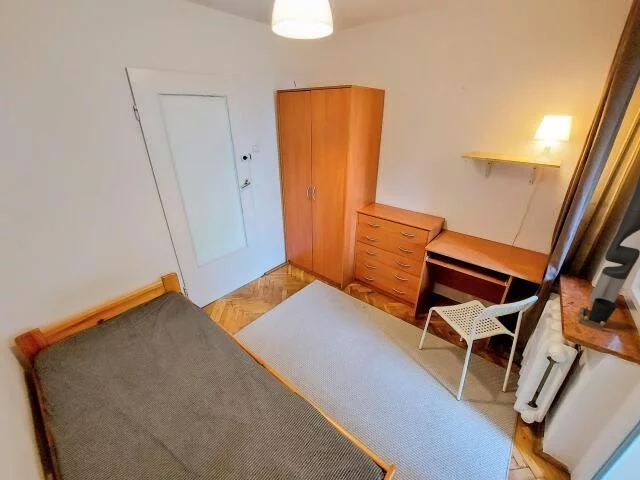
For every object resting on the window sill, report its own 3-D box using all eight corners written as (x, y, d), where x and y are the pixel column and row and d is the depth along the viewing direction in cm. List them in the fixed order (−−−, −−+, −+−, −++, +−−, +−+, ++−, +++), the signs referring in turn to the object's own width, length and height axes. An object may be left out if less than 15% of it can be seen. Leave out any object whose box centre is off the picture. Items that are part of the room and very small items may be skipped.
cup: (584, 316, 137) (594, 296, 133) (605, 322, 133) (616, 302, 128) (585, 323, 132) (595, 302, 127) (607, 330, 127) (618, 309, 123)
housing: (578, 311, 141) (581, 304, 139) (600, 318, 135) (604, 311, 134) (578, 323, 132) (581, 315, 130) (601, 331, 127) (605, 323, 125)
